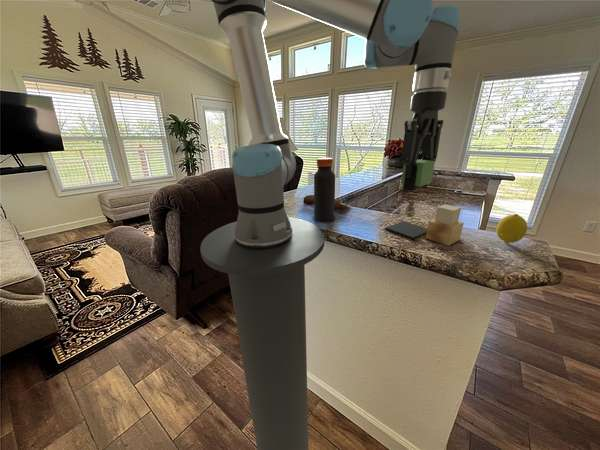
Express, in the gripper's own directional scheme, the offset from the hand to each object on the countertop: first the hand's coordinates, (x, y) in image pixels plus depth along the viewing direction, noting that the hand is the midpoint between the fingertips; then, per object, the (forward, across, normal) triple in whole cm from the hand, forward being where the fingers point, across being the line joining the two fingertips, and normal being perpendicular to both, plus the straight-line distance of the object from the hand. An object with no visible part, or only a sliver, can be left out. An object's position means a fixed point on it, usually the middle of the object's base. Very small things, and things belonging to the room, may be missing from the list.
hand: (415, 187), depth 65 cm
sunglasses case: (+13, -4, +33) cm, 36 cm away
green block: (-1, 0, 0) cm, 1 cm away
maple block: (+13, +2, -9) cm, 16 cm away
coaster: (+13, 0, 0) cm, 13 cm away
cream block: (+8, +2, -9) cm, 12 cm away
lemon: (+13, +12, -20) cm, 27 cm away
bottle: (+13, -13, +23) cm, 30 cm away
